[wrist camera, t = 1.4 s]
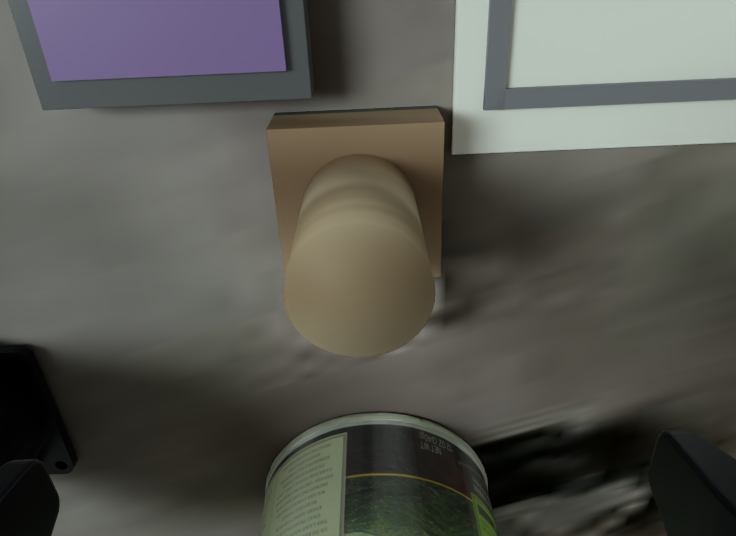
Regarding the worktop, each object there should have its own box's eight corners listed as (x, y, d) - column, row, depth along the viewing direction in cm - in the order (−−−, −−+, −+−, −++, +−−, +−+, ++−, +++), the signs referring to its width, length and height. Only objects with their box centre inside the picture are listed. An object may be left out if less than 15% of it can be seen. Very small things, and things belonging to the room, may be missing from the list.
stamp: (433, 248, 20) (466, 379, 14) (292, 254, 20) (262, 387, 14) (435, 105, 17) (477, 186, 11) (275, 112, 17) (229, 197, 11)
